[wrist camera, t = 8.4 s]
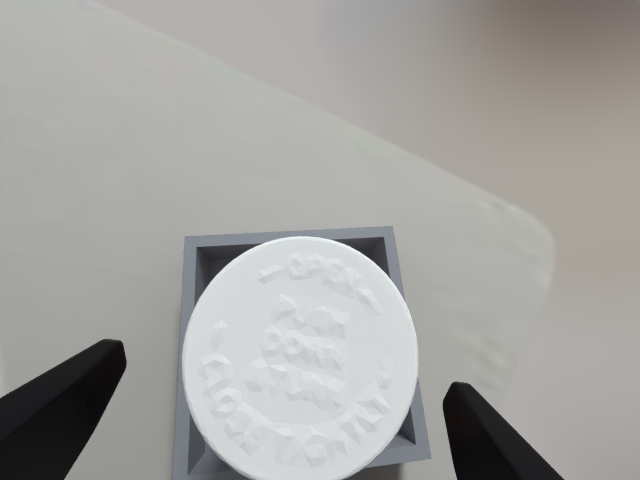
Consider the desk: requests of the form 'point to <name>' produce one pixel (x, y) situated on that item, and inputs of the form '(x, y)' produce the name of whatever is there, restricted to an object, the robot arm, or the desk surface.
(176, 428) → the slate tray
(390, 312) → the pill bottle
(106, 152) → the desk surface
